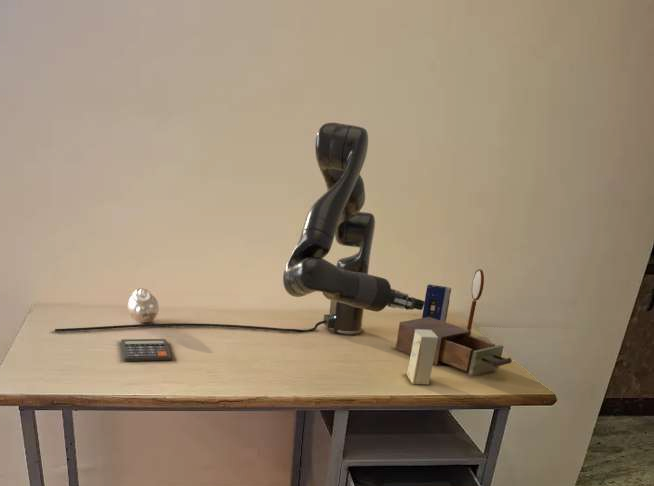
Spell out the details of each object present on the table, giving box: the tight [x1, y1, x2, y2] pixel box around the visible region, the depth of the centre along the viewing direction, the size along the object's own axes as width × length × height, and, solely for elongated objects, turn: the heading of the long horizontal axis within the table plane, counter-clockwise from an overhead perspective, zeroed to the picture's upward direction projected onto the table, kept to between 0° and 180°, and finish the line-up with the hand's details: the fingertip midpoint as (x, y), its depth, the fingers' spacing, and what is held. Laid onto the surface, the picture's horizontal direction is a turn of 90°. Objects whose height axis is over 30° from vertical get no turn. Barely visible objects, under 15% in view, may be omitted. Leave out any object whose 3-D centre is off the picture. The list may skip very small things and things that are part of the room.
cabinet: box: [395, 317, 472, 366], centre depth 193 cm, size 15×12×8 cm
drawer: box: [439, 334, 512, 376], centre depth 184 cm, size 19×11×6 cm, turn 38°
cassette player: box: [421, 284, 452, 323], centre depth 218 cm, size 7×2×12 cm, turn 67°
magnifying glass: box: [466, 268, 485, 332], centre depth 206 cm, size 9×2×20 cm, turn 0°
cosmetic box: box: [406, 329, 438, 385], centre depth 173 cm, size 6×4×12 cm
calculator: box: [120, 338, 172, 362], centre depth 182 cm, size 12×1×15 cm
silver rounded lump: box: [127, 287, 160, 324], centre depth 201 cm, size 9×10×10 cm
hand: (421, 305), depth 167 cm, fingers closed
